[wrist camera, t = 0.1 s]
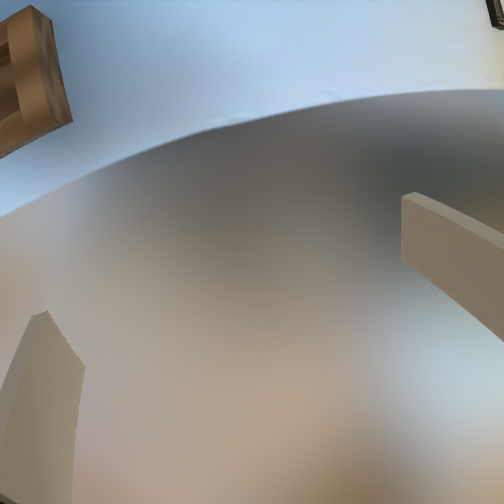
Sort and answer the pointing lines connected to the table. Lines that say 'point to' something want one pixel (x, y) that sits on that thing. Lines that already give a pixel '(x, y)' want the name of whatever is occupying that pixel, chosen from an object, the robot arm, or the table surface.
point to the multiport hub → (496, 14)
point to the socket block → (29, 81)
